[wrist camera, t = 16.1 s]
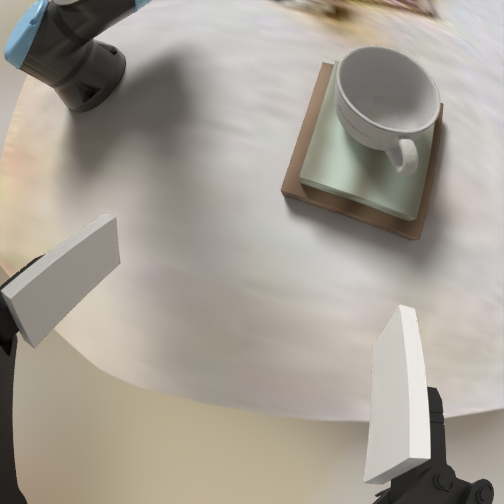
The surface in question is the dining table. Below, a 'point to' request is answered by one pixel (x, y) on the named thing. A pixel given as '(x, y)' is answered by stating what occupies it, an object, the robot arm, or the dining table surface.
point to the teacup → (386, 102)
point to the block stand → (358, 169)
